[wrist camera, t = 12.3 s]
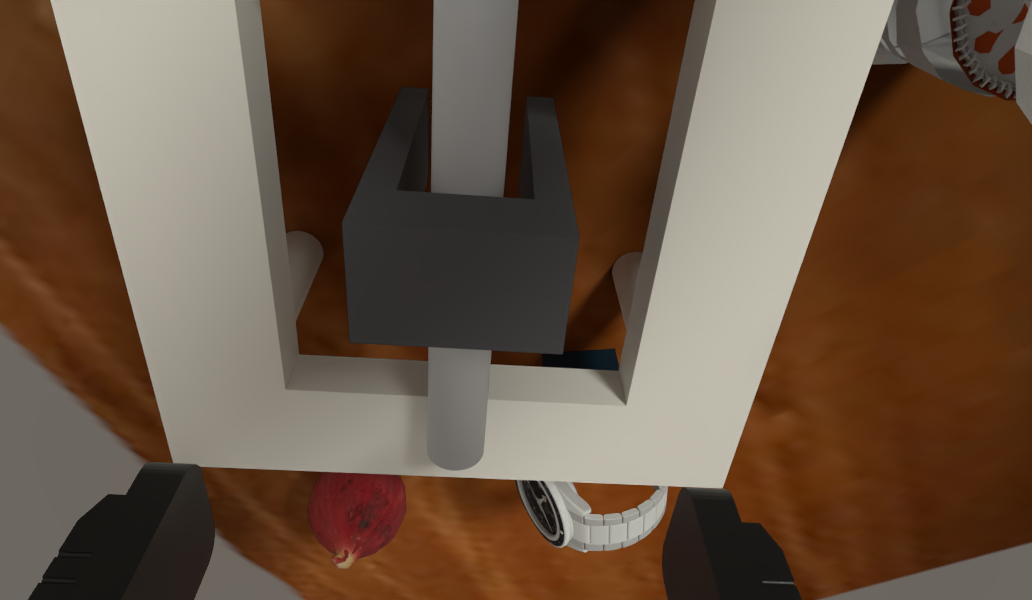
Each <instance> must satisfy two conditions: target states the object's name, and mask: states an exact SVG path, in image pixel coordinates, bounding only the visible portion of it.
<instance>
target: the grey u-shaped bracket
mask: <svg viewBox="0 0 1032 600" xmlns="http://www.w3.org/2000/svg"><path fill="white" fill-rule="evenodd" d="M428 139H429V89H424V88H410V87H401V89H400V92H399V94H398V96H397V98H396V101H395V103H394V105H393V108H392V110H391V112H390V114H389V117H388V119H387V121H386V123H385V126H384V128H383V130H382V133H381V135H380V137H379V139H378V142H377V144H376V146H375V149H374V151H373V153H372V155H371V158H370V160H369V162H368V164H367V167H366V169H365V171H364V174H363V176H362V178H361V180H360V183H359V185H358V187H357V190H356V192H355V194H354V196H353V199H352V201H351V203H350V205H349V208H348V210H347V212H346V215H345V217H344V219H343V221H342V232H343V247H344V262H345V277H346V292H347V308H348V323H349V338H350V343H364V344H382V345H400V346H418V347H436V348H455V349H473V350H491V351H509V352H527V353H545V354H563V349H564V342H565V335H566V328H567V321H568V314H569V307H570V300H571V293H572V286H573V279H574V272H575V265H576V258H577V251H578V244H579V233H578V228H577V222H576V217H575V211H574V206H573V201H572V195H571V190H570V184H569V179H568V174H567V168H566V163H565V158H564V152H563V147H562V141H561V136H560V131H559V125H558V120H557V115H556V109H555V104H554V98H545V97H531V96H527V97H526V109H525V120H524V132H523V144H522V155H521V167H520V178H519V197H520V198H506V197H491V196H476V195H461V194H446V193H431V192H425V189H426V185H427V180H428Z"/></svg>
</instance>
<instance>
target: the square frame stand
mask: <svg viewBox="0 0 1032 600" xmlns="http://www.w3.org/2000/svg"><path fill="white" fill-rule="evenodd" d="M893 2H894V0H695V2H694V7H693V12H692V16H691V21H690V26H689V31H688V36H687V41H686V45H685V50H684V55H683V60H682V65H681V70H680V75H679V79H678V84H677V89H676V94H675V99H674V104H673V109H672V113H671V118H670V123H669V128H668V133H667V138H666V142H665V147H664V152H663V157H662V162H661V167H660V172H659V176H658V181H657V186H656V191H655V196H654V201H653V205H652V210H651V215H650V220H649V225H648V230H647V235H646V239H645V244H644V249H643V253H642V252H630V253H627V254H625V255H623V256H621V257H620V258H619V259H618V260H617V261H616V262H615V264H614V266H613V268H612V277H613V281H614V284H615V288H616V292H617V296H618V300H619V304H620V307H621V311H622V315H623V319H624V323H625V326H626V330H627V332H626V336H625V341H624V346H623V351H622V356H621V361H620V366H619V370H618V371H612V370H592V369H573V368H553V367H534V366H514V365H495V364H491V352H492V351H491V350H473V349H455V348H436V347H428V361H417V360H397V359H378V358H358V357H339V356H319V355H300V354H299V348H298V339H297V330H296V320H297V318H298V315H299V313H300V311H301V308H302V306H303V304H304V301H305V299H306V297H307V294H308V292H309V290H310V287H311V285H312V283H313V280H314V278H315V276H316V273H317V271H318V269H319V266H320V264H321V262H322V259H323V255H324V252H323V248H322V245H321V244H320V242H319V241H318V240H317V239H316V238H315V237H314V236H313V235H311V234H309V233H307V232H303V231H291V232H288V233H286V232H285V223H284V214H283V205H282V196H281V187H280V178H279V169H278V160H277V152H276V143H275V134H274V125H273V116H272V107H271V98H270V89H269V80H268V71H267V62H266V54H265V45H264V36H263V27H262V18H261V9H260V0H51V4H52V8H53V11H54V15H55V19H56V23H57V26H58V30H59V34H60V38H61V41H62V45H63V49H64V53H65V57H66V60H67V64H68V68H69V72H70V75H71V79H72V83H73V87H74V91H75V94H76V98H77V102H78V106H79V109H80V113H81V117H82V121H83V124H84V128H85V132H86V136H87V140H88V143H89V147H90V151H91V155H92V158H93V162H94V166H95V170H96V174H97V177H98V181H99V185H100V189H101V192H102V196H103V200H104V204H105V207H106V211H107V215H108V219H109V223H110V226H111V230H112V234H113V238H114V241H115V245H116V249H117V253H118V257H119V260H120V264H121V268H122V272H123V275H124V279H125V283H126V287H127V290H128V294H129V298H130V302H131V306H132V309H133V313H134V317H135V321H136V324H137V328H138V332H139V336H140V340H141V343H142V347H143V351H144V355H145V358H146V362H147V366H148V370H149V373H150V377H151V381H152V385H153V389H154V392H155V396H156V400H157V404H158V407H159V411H160V415H161V419H162V422H163V426H164V430H165V434H166V438H167V441H168V445H169V449H170V453H171V456H172V460H173V463H184V464H197V465H199V466H200V467H222V468H246V469H270V470H294V471H318V472H342V473H367V474H391V475H415V476H439V477H463V478H487V479H512V480H536V481H560V482H584V483H608V484H632V485H657V486H681V487H705V488H723V485H724V482H725V479H726V477H727V474H728V471H729V468H730V465H731V462H732V460H733V457H734V454H735V451H736V448H737V445H738V443H739V440H740V437H741V434H742V431H743V428H744V425H745V423H746V420H747V417H748V414H749V411H750V408H751V406H752V403H753V400H754V397H755V394H756V391H757V389H758V386H759V383H760V380H761V377H762V374H763V372H764V369H765V366H766V363H767V360H768V357H769V354H770V352H771V349H772V346H773V343H774V340H775V337H776V335H777V332H778V329H779V326H780V323H781V320H782V318H783V315H784V312H785V309H786V306H787V303H788V301H789V298H790V295H791V292H792V289H793V286H794V283H795V281H796V278H797V275H798V272H799V269H800V266H801V264H802V261H803V258H804V255H805V252H806V249H807V247H808V244H809V241H810V238H811V235H812V232H813V230H814V227H815V224H816V221H817V218H818V215H819V212H820V210H821V207H822V204H823V201H824V198H825V195H826V193H827V190H828V187H829V184H830V181H831V178H832V176H833V173H834V170H835V167H836V164H837V161H838V159H839V156H840V153H841V150H842V147H843V144H844V141H845V139H846V136H847V133H848V130H849V127H850V124H851V122H852V119H853V116H854V113H855V110H856V107H857V105H858V102H859V99H860V96H861V93H862V90H863V87H864V85H865V82H866V79H867V76H868V73H869V70H870V68H871V65H872V62H873V59H874V56H875V53H876V51H877V48H878V45H879V42H880V39H881V36H882V34H883V31H884V28H885V25H886V22H887V19H888V16H889V14H890V11H891V8H892V5H893ZM518 3H519V0H434V15H433V81H432V147H431V193H446V194H461V195H476V196H491V197H503V196H504V184H505V171H506V158H507V145H508V132H509V119H510V106H511V93H512V80H513V67H514V54H515V41H516V28H517V16H518Z"/></svg>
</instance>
